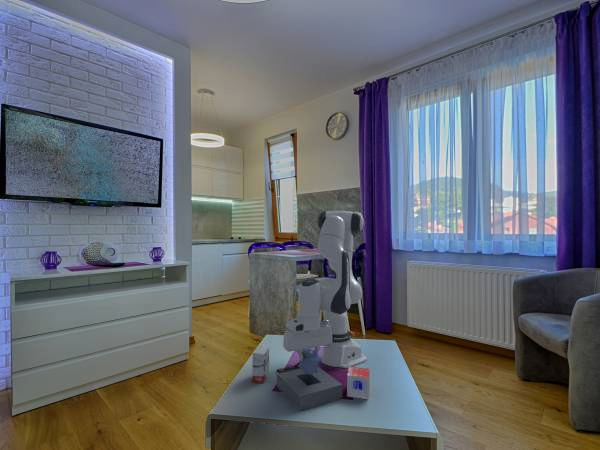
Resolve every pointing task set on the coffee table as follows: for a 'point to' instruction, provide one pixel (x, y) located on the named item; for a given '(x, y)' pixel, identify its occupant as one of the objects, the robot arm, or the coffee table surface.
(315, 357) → the block
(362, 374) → the white red cube carton
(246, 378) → the coffee table surface
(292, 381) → the plate
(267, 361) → the ink box
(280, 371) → the calculator
